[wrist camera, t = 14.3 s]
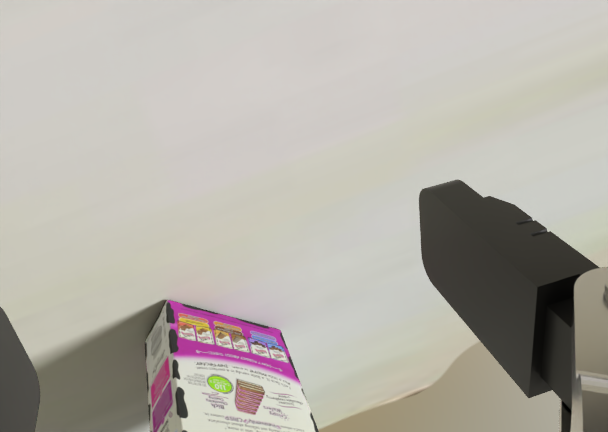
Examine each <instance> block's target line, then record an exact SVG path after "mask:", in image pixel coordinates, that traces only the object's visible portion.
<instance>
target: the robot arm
mask: <svg viewBox="0 0 608 432" xmlns="http://www.w3.org/2000/svg"><path fill="white" fill-rule="evenodd" d="M419 210H420V231H421V252H422V260H423V264H424V268H425V270H426V273H427V275H428V277H429V279H430V281H431V282H432V284H433V285H434V286H435V288H436V289H437V290H438V291H439V292H440V293H441V295H442V296H443V297H444V298H445V299H446V301H447V302H448V303H449V304H450V305H451V307H452V308H453V309H454V310H455V311H456V312H457V314H458V315H459V316H460V317H461V318H462V320H463V321H464V322H465V323H466V324H467V326H468V327H469V328H470V329H471V330H472V331H473V333H474V334H475V335H476V336H477V337H478V339H479V340H480V341H481V342H482V343H483V344H484V346H485V347H486V348H487V349H488V350H489V352H490V353H491V354H492V355H493V356H494V358H495V359H496V360H497V361H498V362H499V364H500V365H501V366H502V367H503V368H504V370H505V371H506V372H507V373H508V374H509V375H510V377H511V378H512V379H513V380H514V381H515V383H516V384H517V385H518V386H519V387H520V388H521V390H522V391H523V392H524V393H525V394H526V396H527V397H528V398H531V397H533V396H536V395H539V394H542V393H545V392H547V391H550V390H553V391H554V392H555V393H556V394H557V395H558V396H559V398H560V399H561V402H560V410H559V432H608V267H602V268H599V267H598V266H597V265H595V264H594V263H593V262H591V261H590V260H589V259H587V258H586V257H584V256H583V255H582V254H580V253H579V252H578V251H576V250H575V249H574V248H572V247H571V246H570V245H568V244H567V243H565V242H564V241H563V240H561V239H560V238H559V237H557V236H556V235H555V234H553V233H552V232H551V231H550V232H547V229H546V228H545V227H544V226H542V225H541V224H540V223H538V222H537V221H536V220H535V221H533V220H532V218H531V217H530V216H529V215H527V214H526V213H525V212H523V211H522V210H521V209H519V208H518V207H517V206H515V205H513V204H511V203H508V202H505V201H502V200H499V199H496V198H493V197H491V196H488V197H485V198H483V197H482V196H481V195H479V194H478V193H477V192H475V191H474V190H473V189H472V188H470V187H469V186H468V185H466V184H465V183H464V182H462V181H461V180H454V181H450V182H447V183H443V184H439V185H436V186H432V187H428V188H425V189H422V191H421V192H420V196H419ZM39 403H40V388H39V382H38V377H37V374H36V371H35V369H34V366H33V364H32V363H31V361H30V359H29V357H28V355H27V353H26V351H25V349H24V347H23V346H22V344H21V342H20V340H19V338H18V336H17V334H16V332H15V330H14V329H13V327H12V325H11V323H10V321H9V319H8V317H7V315H6V314H5V312H4V311H3V309H2V308H1V307H0V432H35V426H36V420H37V415H38V409H39Z"/></svg>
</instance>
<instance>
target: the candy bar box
mask: <svg viewBox="0 0 608 432" xmlns="http://www.w3.org/2000/svg"><path fill="white" fill-rule="evenodd" d="M145 356H146V371H147V389H148V406H149V421H150V432H319V431H318V429H317V426H316V423H315V421H314V418H313V416H312V413H311V410H310V407H309V405H308V402H307V399H306V397H305V395H304V392H303V389H302V386H301V384H300V381H299V379H298V376H297V373H296V370H295V368H294V365H293V362H292V360H291V357H290V354H289V351H288V349H287V346H286V344H285V341H284V338H283V336H282V333H281V331H280V330H278V329H275V328H271V327H268V326H264V325H260V324H256V323H252V322H249V321H245V320H241V319H237V318H233V317H229V316H225V315H222V314H218V313H215V312H211V311H207V310H203V309H200V308H196V307H192V306H189V305H185V304H181V303H178V302H174V301H170V300H167V301H166V302H165V304H164V306H163V308H162V310H161V312H160V314H159V317H158V318H157V320H156V322H155V324H154V326H153V327H152V329H151V331H150V333H149V335H148V337H147V339H146V341H145Z"/></svg>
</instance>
